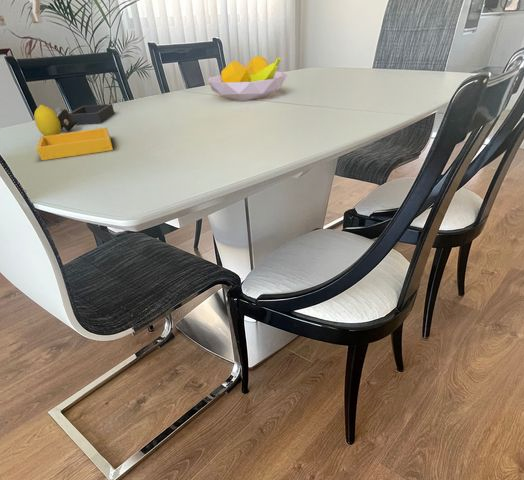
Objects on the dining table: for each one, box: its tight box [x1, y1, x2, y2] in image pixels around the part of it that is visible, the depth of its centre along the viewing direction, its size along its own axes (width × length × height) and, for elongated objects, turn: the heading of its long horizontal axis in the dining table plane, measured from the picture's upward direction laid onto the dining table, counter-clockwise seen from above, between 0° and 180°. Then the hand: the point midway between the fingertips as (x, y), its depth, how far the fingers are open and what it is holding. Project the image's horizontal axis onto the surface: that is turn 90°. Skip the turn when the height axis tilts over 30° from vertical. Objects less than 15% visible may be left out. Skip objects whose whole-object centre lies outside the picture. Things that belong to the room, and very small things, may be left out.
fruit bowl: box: [208, 55, 288, 102], centre depth 128 cm, size 28×27×11 cm
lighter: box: [54, 107, 77, 133], centre depth 106 cm, size 8×2×5 cm
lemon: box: [33, 104, 62, 136], centre depth 97 cm, size 6×6×8 cm
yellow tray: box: [36, 127, 114, 161], centre depth 91 cm, size 16×12×3 cm
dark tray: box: [69, 103, 116, 126], centre depth 117 cm, size 14×10×3 cm
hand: (19, 24), depth 91 cm, fingers open, 8 cm apart
